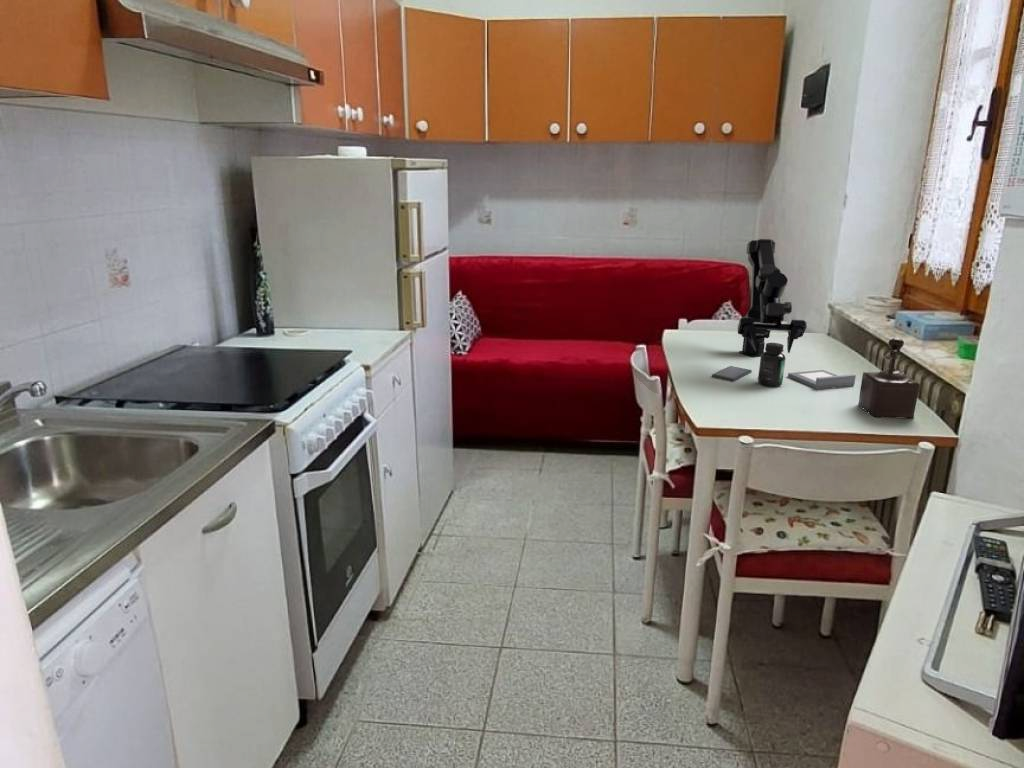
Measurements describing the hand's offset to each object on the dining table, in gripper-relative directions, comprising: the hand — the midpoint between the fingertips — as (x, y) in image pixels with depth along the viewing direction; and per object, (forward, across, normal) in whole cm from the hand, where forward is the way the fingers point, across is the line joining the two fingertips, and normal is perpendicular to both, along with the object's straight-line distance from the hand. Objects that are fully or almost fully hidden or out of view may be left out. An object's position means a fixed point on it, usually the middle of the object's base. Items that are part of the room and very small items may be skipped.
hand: (772, 351), depth 206 cm
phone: (+3, -10, +11) cm, 15 cm away
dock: (+4, +16, +10) cm, 19 cm away
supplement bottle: (+8, 0, +6) cm, 10 cm away
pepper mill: (+20, +26, -6) cm, 33 cm away
